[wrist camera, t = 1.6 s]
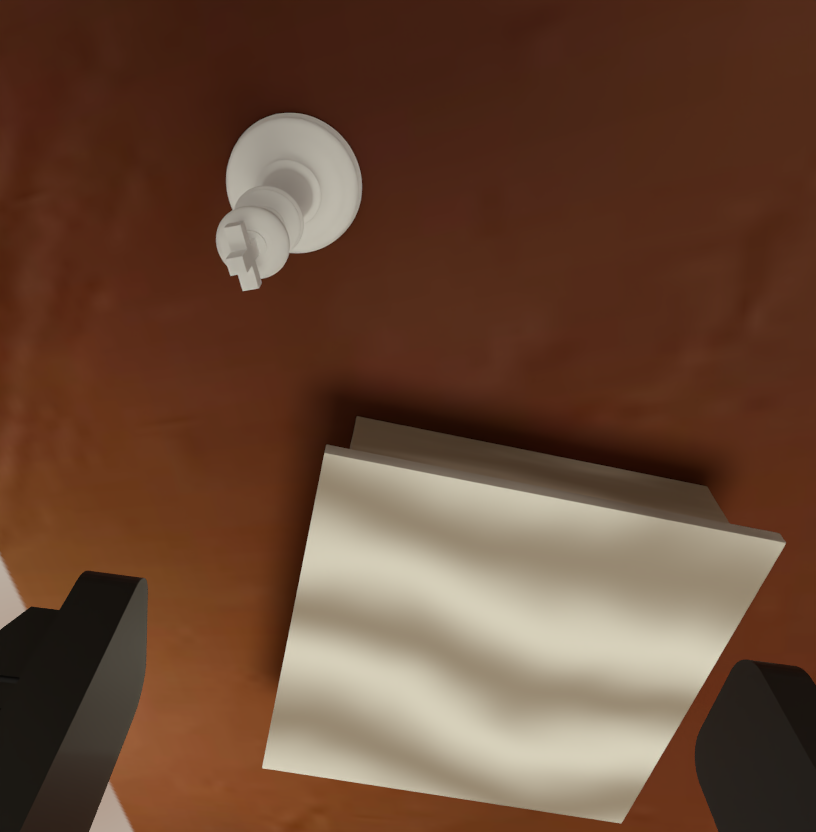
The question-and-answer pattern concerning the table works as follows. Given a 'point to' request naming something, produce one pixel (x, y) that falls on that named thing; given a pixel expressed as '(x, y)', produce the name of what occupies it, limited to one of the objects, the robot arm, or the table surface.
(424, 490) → the stand
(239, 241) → the chess piece
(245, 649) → the table surface
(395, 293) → the table surface
